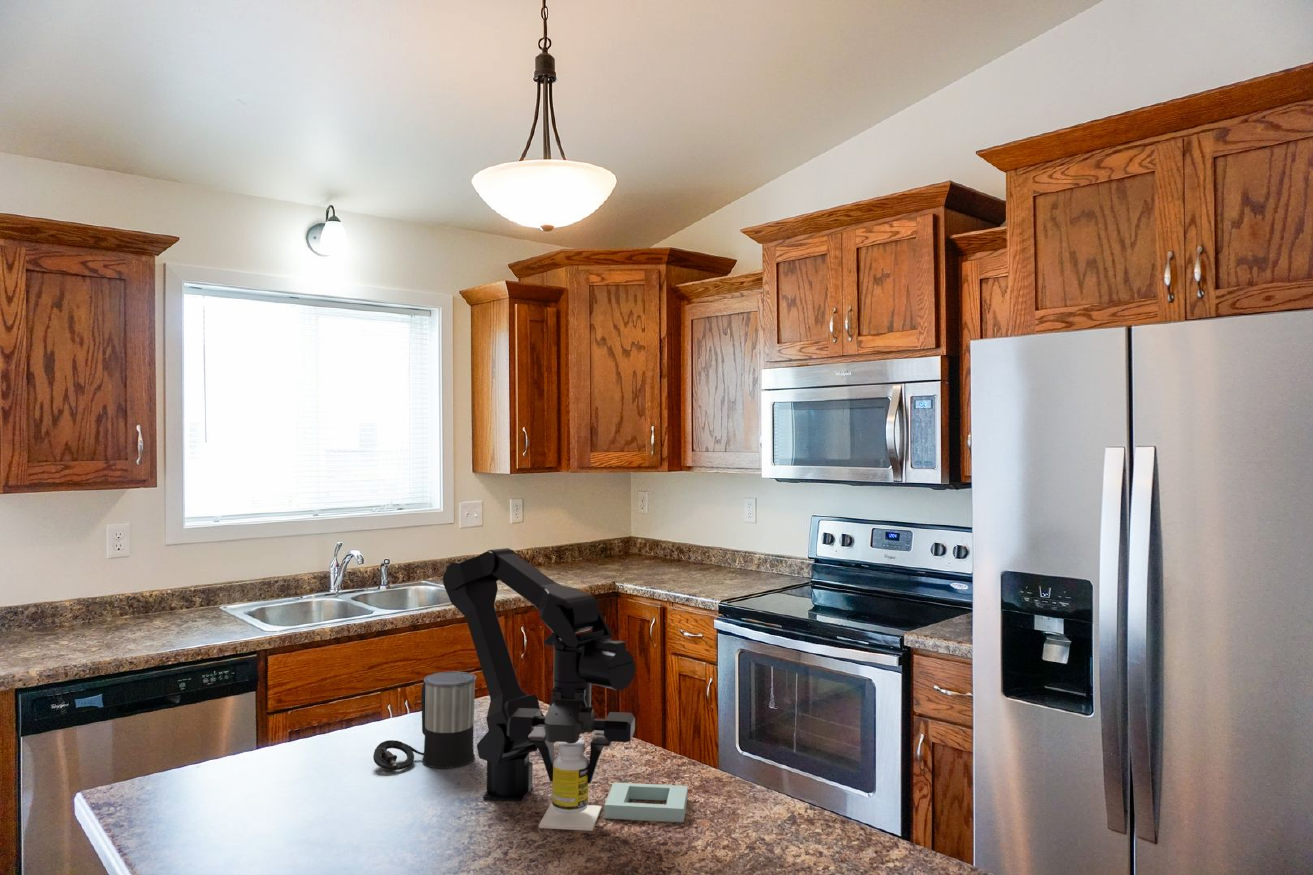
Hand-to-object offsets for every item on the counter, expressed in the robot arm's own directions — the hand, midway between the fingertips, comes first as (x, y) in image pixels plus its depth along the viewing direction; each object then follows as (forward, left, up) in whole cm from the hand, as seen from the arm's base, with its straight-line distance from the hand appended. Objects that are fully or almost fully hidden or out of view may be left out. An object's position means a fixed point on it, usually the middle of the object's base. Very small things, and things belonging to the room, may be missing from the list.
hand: (570, 781), depth 130 cm
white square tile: (0, 0, -5) cm, 5 cm away
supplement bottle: (0, 0, -4) cm, 4 cm away
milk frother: (-30, +20, -6) cm, 36 cm away
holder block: (+11, +5, -5) cm, 13 cm away
